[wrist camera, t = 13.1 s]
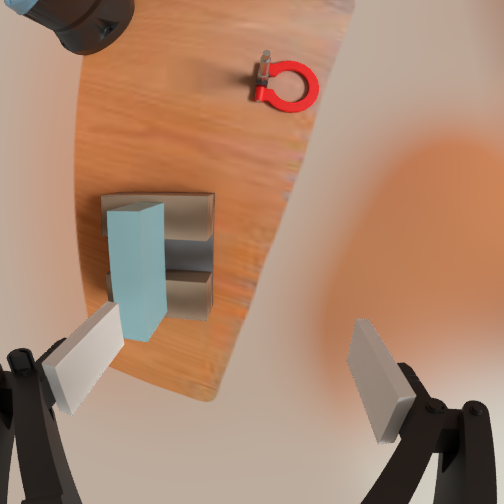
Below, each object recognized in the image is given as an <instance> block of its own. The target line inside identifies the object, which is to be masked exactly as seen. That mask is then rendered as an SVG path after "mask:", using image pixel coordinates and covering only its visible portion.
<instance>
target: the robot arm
mask: <svg viewBox="0 0 504 504" xmlns="http://www.w3.org/2000/svg"><path fill="white" fill-rule="evenodd" d="M4 2H5V4H6V5H7V6H8V7H9V8H11V9H12V10H14V11H15V12H17V14H19V15H23V16H25V17H27V18H29V19H31V20H33V21H35V22H37V23H39V24H41V25H43V26H45V27H47V28H49V29H51V30H53V31H54V32H55V34H56V35H57V37H58V38H59V40H60V42H61V44H62V45H63V47H64V48H66V49H67V50H69V51H71V52H72V53H75V54H78V55H88V54H92V53H95V52H98V51H100V50H102V49H104V48H105V47H107V46H108V45H110V44H111V43H112V42H114V41H115V40H116V39H117V38H118V37H119V36H120V35H121V34H122V33H123V32H124V30H125V29H126V28H127V26H128V24H129V23H130V21H131V19H132V16H133V13H134V0H4ZM123 345H124V340H123V334H122V327H121V320H120V313H119V305H118V303H115V302H106V303H105V304H103V305H102V306H101V307H100V308H99V309H98V310H97V311H96V312H95V313H94V314H92V315H91V316H90V317H89V318H88V319H87V320H86V321H85V322H84V323H83V324H82V325H81V326H80V327H78V328H77V329H76V330H75V331H74V332H73V333H72V334H71V335H70V336H69V337H68V338H63V339H61V340H59V341H57V342H56V343H55V344H54V345H52V346H51V348H49V349H48V350H47V352H45V353H44V354H43V355H42V356H41V357H40V358H39V359H38V360H37V361H36V362H35V361H34V358H33V355H32V352H31V351H30V350H29V349H26V348H19V349H15V350H13V351H11V352H10V353H9V354H8V356H7V361H8V363H9V365H10V368H11V371H12V372H10V371H3V369H2V366H1V364H0V504H7V494H8V481H9V471H10V463H11V455H12V448H13V442H14V436H15V438H16V446H17V454H18V460H19V467H20V472H21V478H22V483H23V488H24V492H25V497H26V499H25V500H22V502H21V504H82V502H81V499H80V497H79V494H78V491H77V489H76V486H75V483H74V480H73V478H72V475H71V472H70V469H69V466H68V463H67V459H66V456H65V453H64V450H63V446H62V442H61V438H60V435H59V431H58V427H57V423H56V419H55V414H54V411H53V409H52V406H53V405H54V403H55V402H56V403H57V406H58V408H59V411H61V412H63V413H66V414H70V415H73V414H74V413H75V412H76V410H77V409H78V407H79V406H80V404H81V403H82V401H83V400H84V399H85V397H86V396H87V394H88V393H89V392H90V390H91V389H92V388H93V386H94V385H95V383H96V382H97V381H98V379H99V378H100V376H101V375H102V374H103V372H104V371H105V369H106V368H107V367H108V365H109V364H110V363H111V361H112V360H113V359H114V357H115V356H116V355H117V353H118V352H119V351H120V349H121V348H122V347H123ZM347 363H348V365H349V368H350V371H351V373H352V376H353V378H354V381H355V383H356V386H357V388H358V391H359V394H360V397H361V399H362V402H363V404H364V407H365V410H366V413H367V415H368V418H369V421H370V424H371V426H372V429H373V432H374V435H375V438H376V440H377V443H378V445H379V444H387V443H393V442H395V440H396V438H397V436H398V434H400V437H401V441H400V443H399V445H398V446H397V448H396V450H395V452H394V453H393V455H392V457H391V458H390V460H389V462H388V463H387V465H386V467H385V468H384V470H383V471H382V473H381V475H380V476H379V478H378V479H377V481H376V482H375V484H374V485H373V487H372V488H371V490H370V491H369V492H368V494H367V495H366V497H365V498H364V500H363V501H362V502H361V504H408V503H409V502H410V500H411V498H412V496H413V494H414V492H415V490H416V488H417V486H418V484H419V482H420V480H421V478H422V475H423V473H424V471H425V469H426V467H427V465H428V462H429V460H430V457H431V455H432V453H439V459H438V470H437V480H436V487H435V495H434V502H433V504H497V486H496V467H495V456H494V445H493V437H492V430H491V423H490V417H489V411H488V409H487V407H486V406H485V405H484V404H483V403H481V402H479V401H468V402H466V403H465V404H464V406H463V407H462V409H448V408H447V406H446V405H445V403H443V402H442V401H441V400H439V399H436V398H431V397H430V395H429V394H428V392H427V391H426V389H425V388H424V386H423V385H422V383H421V382H420V380H419V378H418V377H417V376H416V374H415V372H414V371H413V369H412V368H411V367H410V366H408V365H407V364H406V363H396V361H395V360H394V358H393V356H392V355H391V353H390V352H389V350H388V349H387V347H386V345H385V344H384V342H383V341H382V339H381V337H380V336H379V334H378V333H377V331H376V330H375V328H374V326H373V325H372V323H371V322H370V320H369V319H356V321H355V325H354V330H353V335H352V339H351V344H350V349H349V353H348V357H347Z"/></svg>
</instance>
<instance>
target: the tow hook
mask: <svg viewBox="0 0 504 504" xmlns="http://www.w3.org/2000/svg"><path fill="white" fill-rule="evenodd" d="M270 61H271V58H270V51H268V50H265V51H264V52H263V56H262V57H261V60H260V69H259V71H258V75H257V81H256V92H255V97H254V101H256V102H263V101H266V102H269V103H270V104H271V105H272V106H274V107H275V108H276V109H278V110H281V111H283V112H289V113H295V112H300V111H303V110H306V109H307V108H309V107H310V106H311V105H312V104H313V103H314V102H315V100H316V98H317V96H318V92H319V85H318V80H317V78H316V76H315V74H314V73H313V72H312V71H311V69H309V68H308V67H307V66H305V65H304V64H301V63H299V62H295V61H282V62H279V63H276V64H272V63H270ZM283 71H295V72H298V73H300V74H301V75H302V76H303V77H304V78H305V79H306V81H307V83H308V93H307V96H306V97H305V98H304V99H302V100H301V101H298V102H293V103H291V102H286V101H283V100H281V99H280V98H279V97H278V96H277V95H276V94H275V92H274V90H272V89H267V83H268V78H269V76H272V77H275V76H277V75H278V74H279V73H281V72H283Z"/></svg>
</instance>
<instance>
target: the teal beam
mask: <svg viewBox="0 0 504 504" xmlns="http://www.w3.org/2000/svg"><path fill="white" fill-rule="evenodd" d="M107 227H108V245H109V259H110V270H111V281H112V290H113V298H114V302H115V303H118V305H119V313H120V320H121V327H122V334H123V338H125V339H131V340H138V341H145V342H148V340H149V339H150V337H151V336H152V334H153V333H154V331H155V330H156V328H157V326H158V325H159V323H160V322H161V320H162V319H163V317H164V316H165V314H166V313H167V298H166V278H165V251H164V203H148V202H137V203H133V204H130V205H126V206H123V207H119V208H116V209H112V210H109V211H107Z"/></svg>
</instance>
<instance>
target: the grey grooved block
mask: <svg viewBox="0 0 504 504" xmlns="http://www.w3.org/2000/svg"><path fill="white" fill-rule="evenodd" d="M137 202H148V203H164V251H165V278H166V298H167V313H166V314H165V316H164V317H169V318H178V319H189V320H199V321H207V319H208V316H209V314H210V311H211V308H212V306H213V244H214V204H215V193H187V192H117V193H111V194H106V195H101V215H102V236H108V227H107V211H109V210H112V209H116V208H119V207H123V206H126V205H130V204H133V203H137ZM106 284H107V293H108V301H109V302H114V298H113V290H112V281H111V271H110V272H108V273H107V274H106Z"/></svg>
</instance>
